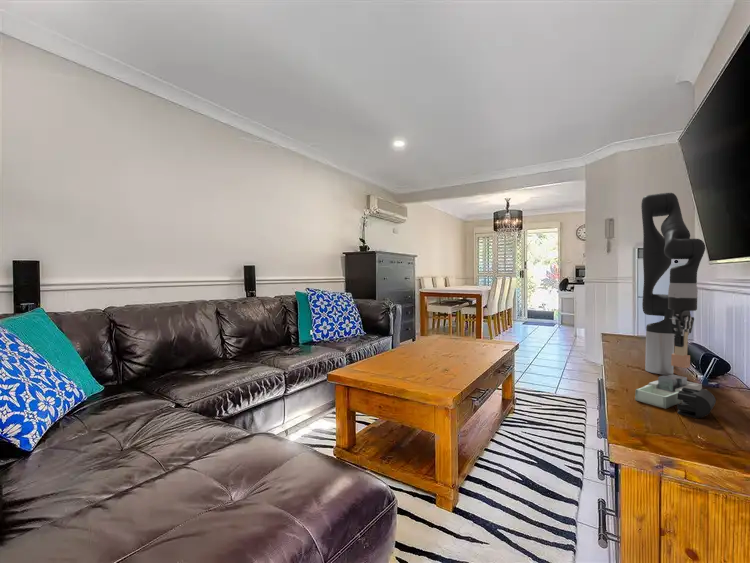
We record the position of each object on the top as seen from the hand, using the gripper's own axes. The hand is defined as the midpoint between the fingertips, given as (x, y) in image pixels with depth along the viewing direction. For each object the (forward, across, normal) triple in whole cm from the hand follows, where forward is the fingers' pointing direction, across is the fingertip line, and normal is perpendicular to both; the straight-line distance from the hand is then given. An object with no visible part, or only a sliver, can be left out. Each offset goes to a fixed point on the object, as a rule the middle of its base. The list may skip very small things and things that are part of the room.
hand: (681, 345), depth 118 cm
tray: (+17, +17, 0) cm, 24 cm away
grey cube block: (+14, +4, 0) cm, 15 cm away
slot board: (+17, +4, 0) cm, 17 cm away
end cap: (+17, +19, +10) cm, 27 cm away
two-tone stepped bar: (+7, 0, 0) cm, 7 cm away
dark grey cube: (+14, +8, 0) cm, 16 cm away
